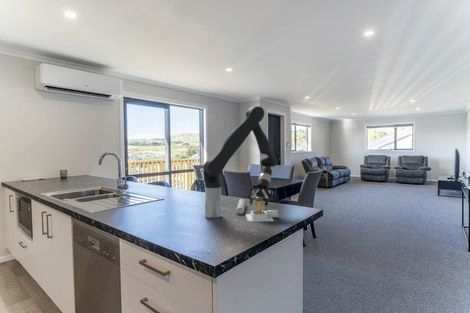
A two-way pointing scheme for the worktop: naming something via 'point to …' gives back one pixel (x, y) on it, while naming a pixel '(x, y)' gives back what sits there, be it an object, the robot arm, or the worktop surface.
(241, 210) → the tube
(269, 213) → the socket
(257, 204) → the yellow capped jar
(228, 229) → the worktop surface
